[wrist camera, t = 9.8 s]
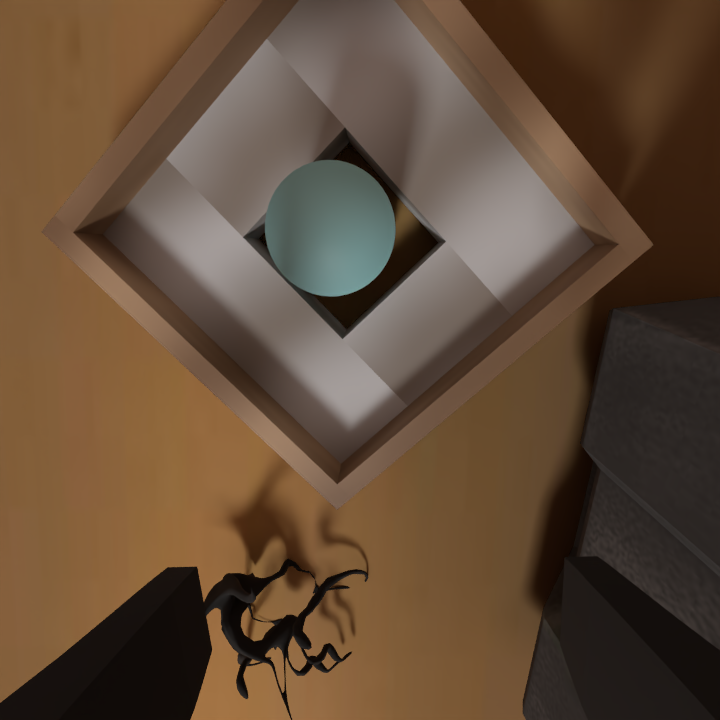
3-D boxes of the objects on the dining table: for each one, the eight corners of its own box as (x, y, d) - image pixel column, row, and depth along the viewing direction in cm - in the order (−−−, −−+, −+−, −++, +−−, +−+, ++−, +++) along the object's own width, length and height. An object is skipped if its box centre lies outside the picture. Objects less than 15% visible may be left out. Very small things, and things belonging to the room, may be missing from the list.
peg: (294, 205, 16) (248, 181, 10) (378, 181, 16) (377, 142, 10) (318, 289, 17) (286, 310, 11) (398, 268, 17) (408, 278, 11)
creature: (399, 577, 22) (275, 494, 19) (427, 697, 17) (264, 609, 14) (291, 663, 23) (161, 598, 20) (287, 796, 18) (116, 735, 15)
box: (109, 235, 17) (41, 231, 13) (352, -53, 14) (343, -147, 11) (344, 462, 19) (336, 509, 15) (595, 245, 16) (653, 244, 13)
